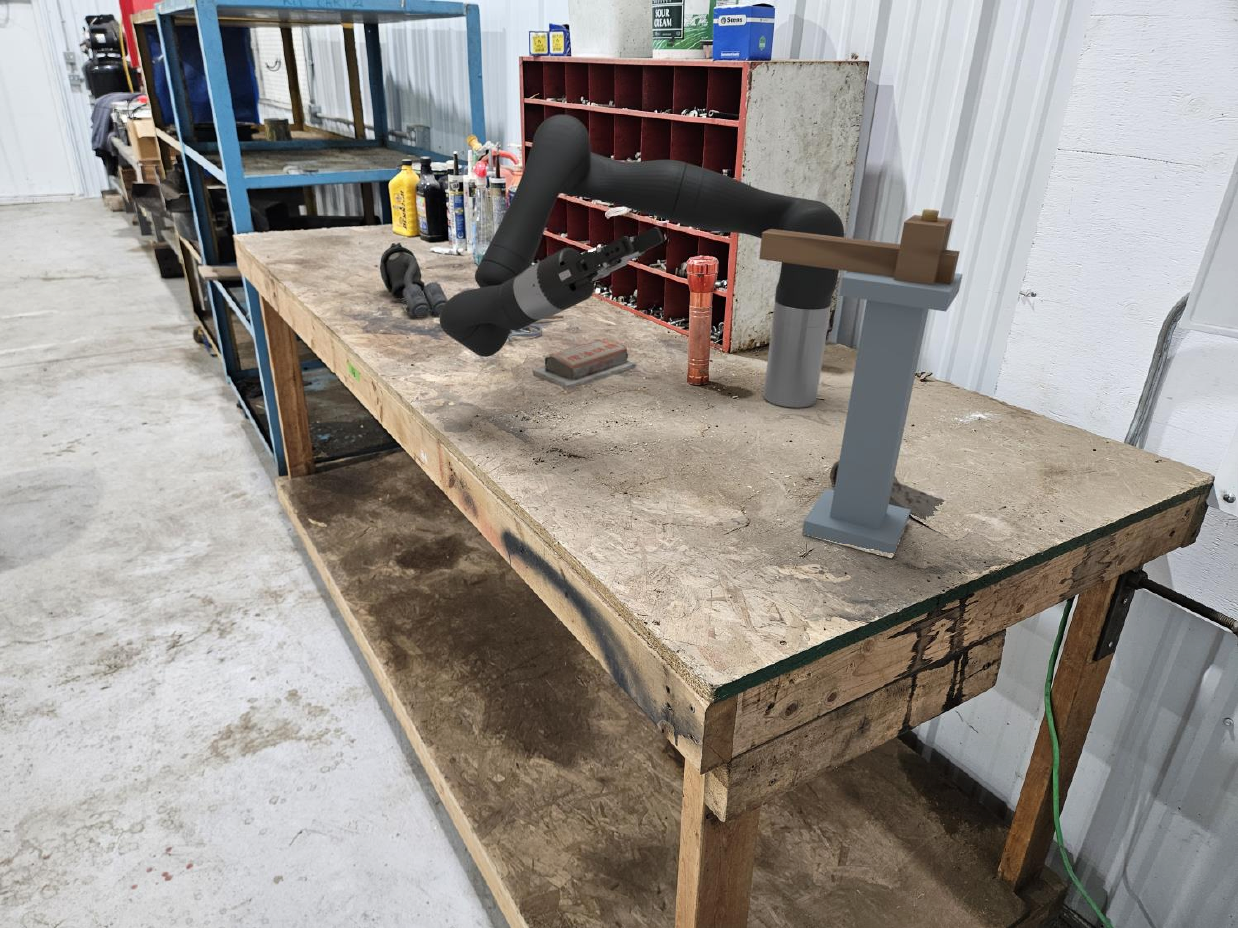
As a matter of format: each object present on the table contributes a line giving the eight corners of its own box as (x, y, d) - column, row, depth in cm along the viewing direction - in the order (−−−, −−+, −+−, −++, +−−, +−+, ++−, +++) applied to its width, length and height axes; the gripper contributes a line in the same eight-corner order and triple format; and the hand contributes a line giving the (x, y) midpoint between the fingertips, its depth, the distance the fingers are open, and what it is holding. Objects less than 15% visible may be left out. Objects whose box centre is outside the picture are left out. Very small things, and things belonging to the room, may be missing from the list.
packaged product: (599, 333, 159) (637, 345, 153) (599, 357, 161) (636, 369, 155) (531, 352, 147) (569, 365, 141) (531, 377, 149) (568, 391, 143)
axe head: (1003, 508, 105) (971, 534, 98) (987, 538, 108) (956, 566, 101) (866, 437, 116) (830, 457, 109) (855, 467, 119) (819, 487, 112)
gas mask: (408, 352, 186) (373, 277, 199) (446, 346, 190) (410, 274, 203) (413, 302, 175) (376, 226, 187) (453, 297, 179) (414, 224, 192)
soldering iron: (461, 356, 160) (438, 327, 172) (586, 351, 174) (556, 325, 185) (463, 329, 158) (439, 301, 169) (590, 325, 171) (560, 300, 183)
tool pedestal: (823, 501, 108) (863, 261, 94) (907, 523, 104) (962, 274, 90) (802, 534, 100) (842, 277, 86) (892, 559, 96) (950, 292, 82)
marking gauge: (771, 252, 97) (778, 192, 94) (955, 276, 88) (969, 210, 85) (754, 261, 92) (761, 197, 89) (947, 287, 84) (962, 218, 80)
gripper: (512, 269, 107) (607, 217, 98) (569, 252, 118) (658, 204, 109) (536, 321, 108) (632, 275, 99) (590, 299, 120) (680, 256, 110)
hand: (645, 238), depth 104 cm, fingers open, 8 cm apart
